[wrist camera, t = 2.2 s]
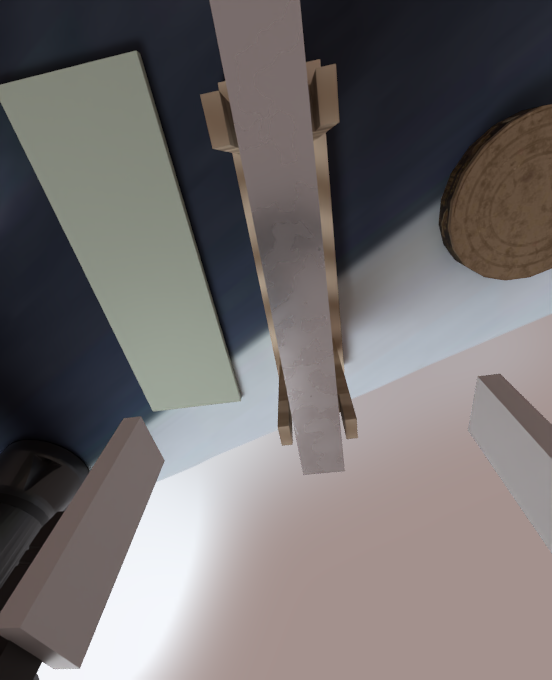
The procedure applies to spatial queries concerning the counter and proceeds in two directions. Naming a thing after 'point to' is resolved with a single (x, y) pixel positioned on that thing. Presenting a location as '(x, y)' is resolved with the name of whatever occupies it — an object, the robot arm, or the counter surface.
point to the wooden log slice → (503, 199)
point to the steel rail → (285, 207)
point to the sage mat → (126, 222)
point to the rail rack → (322, 119)
